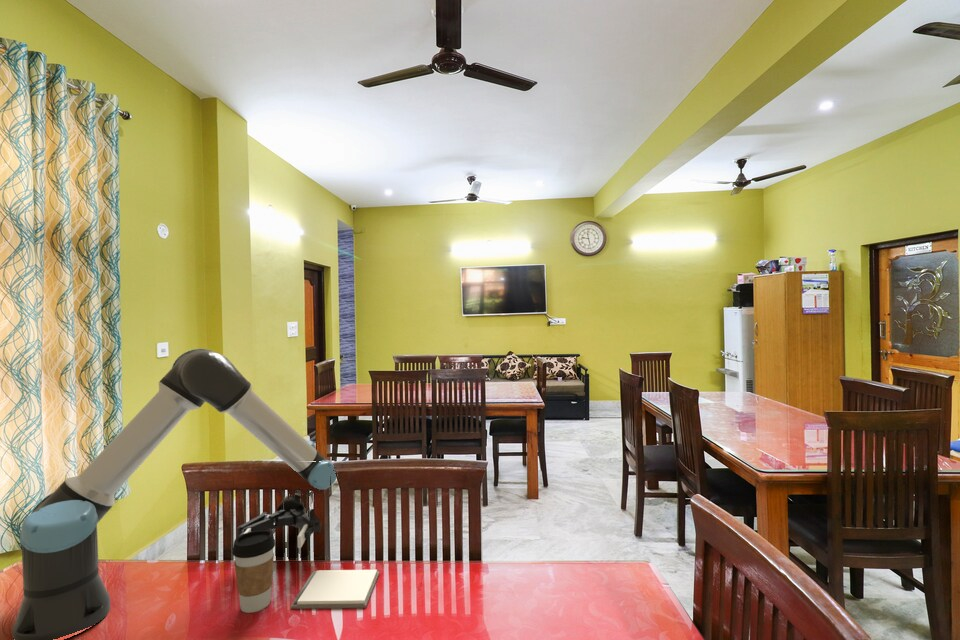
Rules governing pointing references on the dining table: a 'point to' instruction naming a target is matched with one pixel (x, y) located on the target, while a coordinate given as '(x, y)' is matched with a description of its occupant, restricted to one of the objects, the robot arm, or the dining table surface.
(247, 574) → the coffee cup
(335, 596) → the notepad
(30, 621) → the robot arm
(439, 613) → the dining table surface
